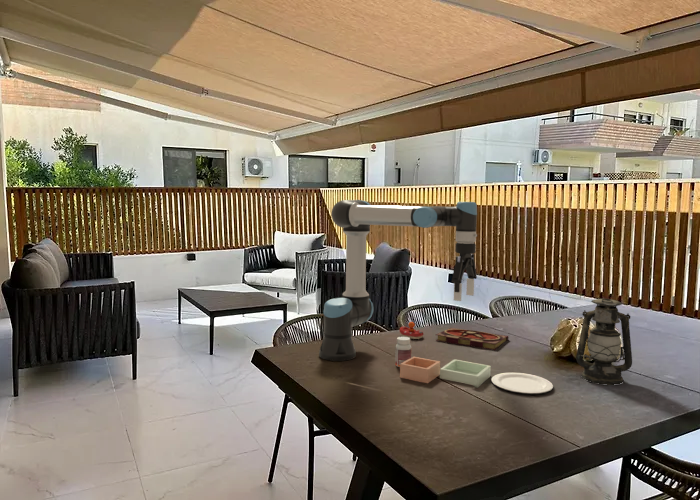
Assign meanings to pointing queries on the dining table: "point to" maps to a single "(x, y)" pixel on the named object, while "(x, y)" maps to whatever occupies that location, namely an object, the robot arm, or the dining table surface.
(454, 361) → the green tray
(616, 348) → the lantern
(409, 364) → the orange open box
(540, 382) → the plate
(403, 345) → the pill bottle
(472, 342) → the book
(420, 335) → the toy boat
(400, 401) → the dining table surface
